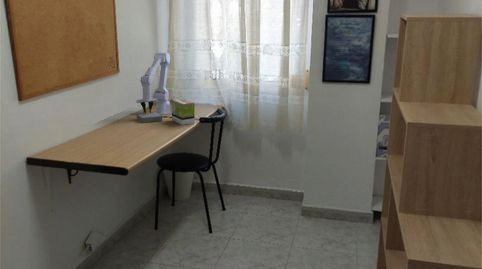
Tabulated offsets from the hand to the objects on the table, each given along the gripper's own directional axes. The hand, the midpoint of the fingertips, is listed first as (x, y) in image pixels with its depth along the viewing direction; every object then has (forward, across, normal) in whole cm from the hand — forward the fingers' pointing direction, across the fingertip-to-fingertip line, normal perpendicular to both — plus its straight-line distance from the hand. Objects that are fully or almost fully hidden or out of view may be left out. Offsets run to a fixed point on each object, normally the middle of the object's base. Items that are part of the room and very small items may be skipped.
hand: (147, 112), depth 312 cm
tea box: (+5, +19, -18) cm, 27 cm away
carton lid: (+1, 0, -4) cm, 5 cm away
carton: (+4, 0, -4) cm, 6 cm away
